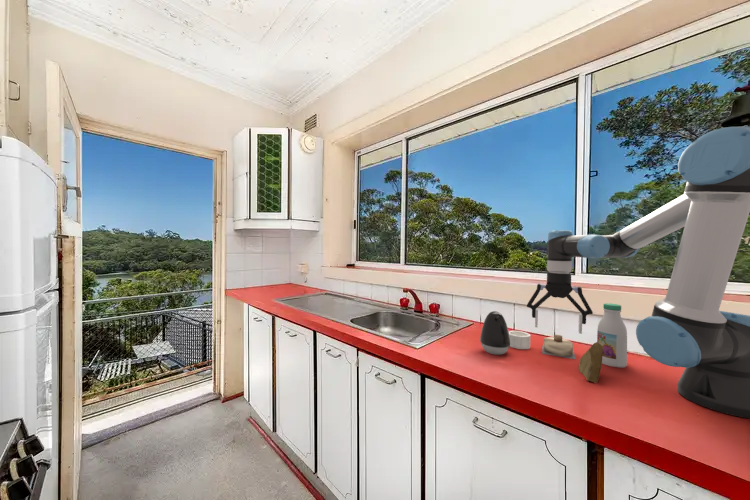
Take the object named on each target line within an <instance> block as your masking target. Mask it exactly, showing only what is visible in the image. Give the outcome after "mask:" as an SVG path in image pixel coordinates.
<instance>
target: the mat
mask: <svg viewBox="0 0 750 500" xmlns="http://www.w3.org/2000/svg"><path fill="white" fill-rule="evenodd" d="M541 346H542V347H541V353H542V355H549V356H553V357H561V358H566V359H571V360H576V359H577V358H576V354H575V351H574V350H573V355H572V356H568V357H564V356H557V355H553V354H550V353H547V352H545V351H544V344H543V345H541Z"/></svg>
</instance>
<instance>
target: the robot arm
mask: <svg viewBox="0 0 750 500" xmlns="http://www.w3.org/2000/svg"><path fill="white" fill-rule="evenodd" d="M677 171H678V173H679V175H681V177H682V179H684V181H686V183H685V184H686V185H685V188H684V191H683V194H681V195H680V196H678V197H677V198H675V199H673V200H671V201H669V202H668V203H666V204H663V205H662V206H661V207H659V208H657V209H656V210H654V211H652V212H651V213H649V214H647V215H645V216H643V217H641V218H640V219H638V220H636V221H635V222H633V223H631V224H630V225H628V226H626V227H624V228H623V229H621V230H619V231H617V232H615V233H614V234H611V235H607V234H606V235H605V234H604V235H603V234H602V235H600V234H579V235H577V234H576V235H573V231H572V230H570V229H565V230H564V229H561V230H560V229H559V230H557V229H556V230H550V231H548V235H547V242H546V243H547V261H546V262H547V264H546V270H547V273H546V283H545V284H541V283H537V284H536V290H535V291H534V293H533V295H532V296H531V298H530V299H529V300H528V302H527V304H526V307H527V308H530V309H531V317H532V319H533V318H534V321H535V323H534V328H539V327H538V325H539V324H538V323H539V322H538V320H539V319H538V318H539V316H538V315H539V307H540V305H542V304H543V303H544V302H546V300H548V299H549V298H550V297H552V298H555V299H556V298H560V299H565V298H567V300H569V301H570V303H571V304H572V305H573V306H574V307H575V308H576V309H577V311H579V312H580V313H578V334H580V335H581V334H583V325H586V324H587V316H588V315H593V313H594V311H593V310H592V308H591V307H590V305H589V303H588V301H587V299H586V297H585V296H584V294H583V289H582V287H581V286H579V285H578V286H572V274H571V272H572V268H573V267H572V263H573V262H572V261H573V258H585V259H601V258H605V259H606V258H612V259H613V258H615V259H623V258H624V259H625V258H630V257H634V256H635V255H637V253H638V252H639V251H640V249H641V248H644V247H645V246H647V245H649V244H652V243H654V242H655V241H657V240H660V239H661V238H663V237H666V236H668V235H669V234H672V233H674V232H677V231H678V230H680V229H682V228H683V232H682V234H681V238H680V242H679V246H678V251H677V253H676V257H675V261H674V265H673V267H672V268H673V269H672V273H671V275H670V279H669V283H668V287H667V290H666V295H665V298H664V299H661V300H658V301H656V302H655V303H654V305H653V309H652V313H651V316H647V317H645V318H643V319H641V320H640V321H639V322H638V324H637V325H636V329H635V335H636V340H637V342H638V344H639V346H641V347H642V349H643V351H644V352H645V353H646V355H648V356H649V357H650V358H651V359H653V360H655V361H656V362H658V363H660V364H662V365H665V366H667V367H673V368H674V367H675V368H684V371H683V372H682V374H681V376H680V378H679V379H678V382H677V392H678V394H680V395H681V396H682V397H684V398H685V399H686V400H689V401H691V402H692V403H694V404H696V405H700V406H702V407H705V408H707V409H711V410H713V411H717V412H720V413H723V414H727V415H731V416H734V417H739V418H744V419H750V315H749V314H742V313H735V312H728V311H724V310H723V311H722V310H720V307H721V304H722V301H723V298H724V295H725V291H726V288H727V285H728V282H729V279H730V275H731V272H732V269H733V266H734V263H735V259H736V257H737V253H738V250H739V247H740V245H741V241H742V238H743V235H744V231H745V228H746V225H747V222H748V218H749V215H750V126H747V125H746V126H728V127H727V126H726V127H721V128H717V129H715V130H711V131H709V132H707V133H705V134H703V135H700V136H699V137H698V138H696V140H694V141H692V142H691V143H690V144H688V146H687V147H686V148H685V149H684V150H683V152H682V153H681V155H680V157H679V159H678V164H677ZM544 289H545V290H546V291H547V292H546V293H545V294H544V295H543V296H542V297H540V299H539V300H537V301H536V302H535V303H534V301H535V300H536V298H537V297H538V295H539V294H540V291H542V290H544ZM572 291H574V292H575V293H576V294H578V297H579V298H580V300H581V302H582V303H583V306H584V307H585V310H584V308H583V307H582V306H581V305H580V304H579V303H578V302H577V301H576V300H575V299H574V298H573V297H572V295H571V292H572ZM533 303H534V304H533Z"/></svg>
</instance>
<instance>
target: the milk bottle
mask: <svg viewBox="0 0 750 500" xmlns="http://www.w3.org/2000/svg"><path fill="white" fill-rule="evenodd" d="M602 307H603V311H604V312H603V315H602V317H601V318H600V321H599V322H598V325H597V333H596V334H597V335H596V336H597V337H596V342H597V343H599V344H601V345H602V346H603V354H602V364H603V365H606V366H609V367H615V368H626V367H628V364H627V363H628V331H627V327H626V324H625V323H624V321H623V318H622V315H621V312H622V305H621V304H617V303H611V302H610V303H609V302H607V303H603V306H602ZM602 364H601V365H602Z"/></svg>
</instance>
